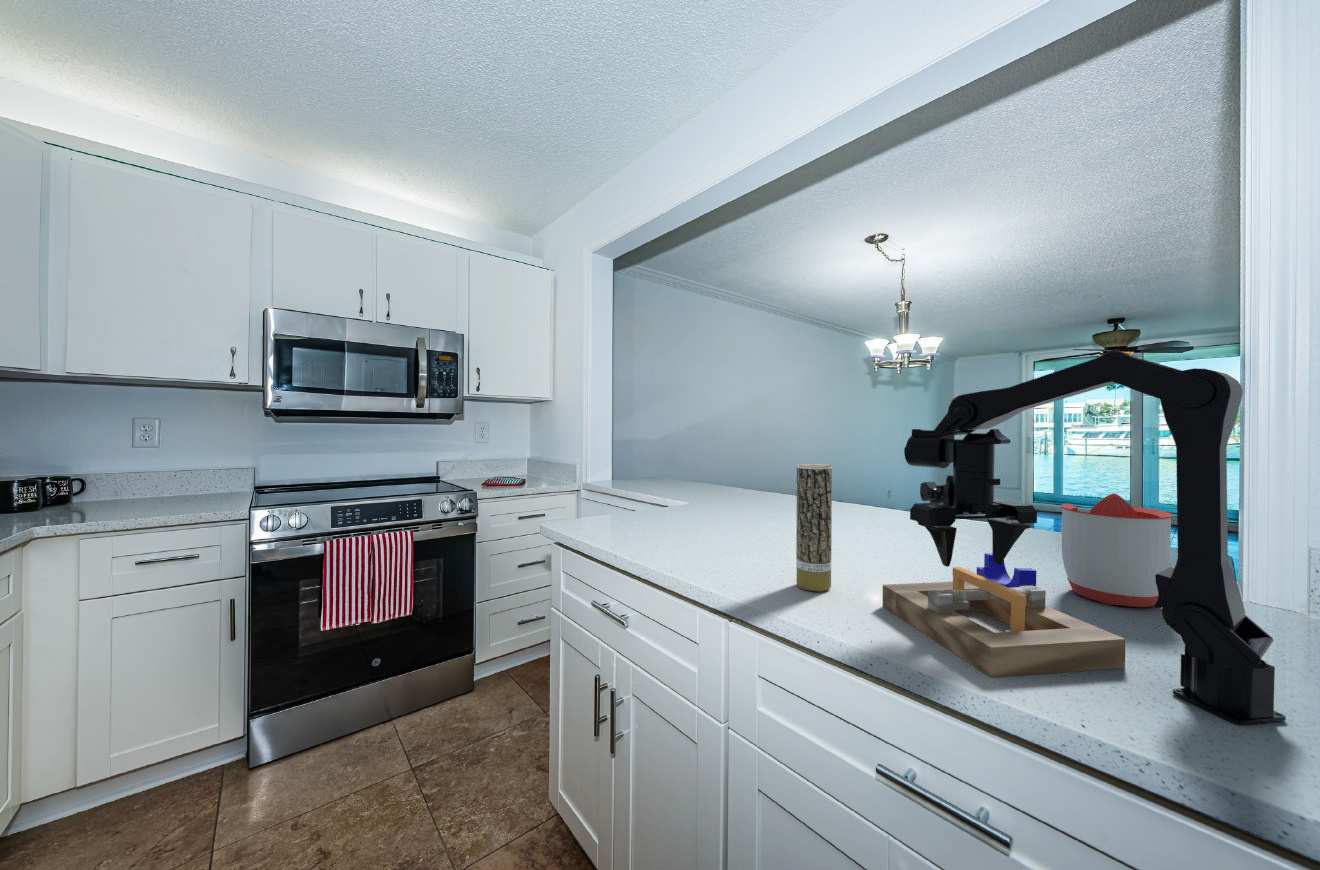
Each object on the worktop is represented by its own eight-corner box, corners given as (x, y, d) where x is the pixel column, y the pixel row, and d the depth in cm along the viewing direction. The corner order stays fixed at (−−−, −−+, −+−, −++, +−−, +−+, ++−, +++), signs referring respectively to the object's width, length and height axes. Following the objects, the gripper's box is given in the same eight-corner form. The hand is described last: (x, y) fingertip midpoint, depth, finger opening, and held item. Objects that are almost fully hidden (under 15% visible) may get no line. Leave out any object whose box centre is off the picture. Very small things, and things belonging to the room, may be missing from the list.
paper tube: (838, 590, 97) (839, 465, 97) (811, 594, 95) (811, 467, 94) (816, 580, 104) (816, 463, 103) (789, 584, 101) (789, 464, 101)
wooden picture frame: (1124, 667, 66) (1125, 617, 66) (990, 677, 64) (991, 624, 64) (982, 601, 91) (983, 564, 91) (882, 606, 89) (882, 568, 89)
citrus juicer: (1114, 582, 101) (1116, 487, 101) (1198, 615, 84) (1201, 500, 84) (1034, 580, 103) (1036, 486, 103) (1100, 612, 86) (1102, 499, 85)
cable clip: (976, 580, 103) (976, 552, 103) (999, 581, 103) (999, 553, 103) (1009, 601, 92) (1010, 569, 91) (1035, 602, 91) (1036, 570, 91)
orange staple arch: (1030, 642, 71) (1032, 595, 71) (1012, 643, 71) (1013, 596, 70) (962, 605, 85) (963, 566, 84) (946, 606, 84) (947, 567, 84)
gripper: (986, 465, 89) (985, 550, 89) (891, 467, 87) (890, 553, 87) (1041, 472, 78) (1039, 568, 78) (933, 473, 76) (931, 572, 76)
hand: (971, 564), depth 80 cm, fingers open, 9 cm apart
